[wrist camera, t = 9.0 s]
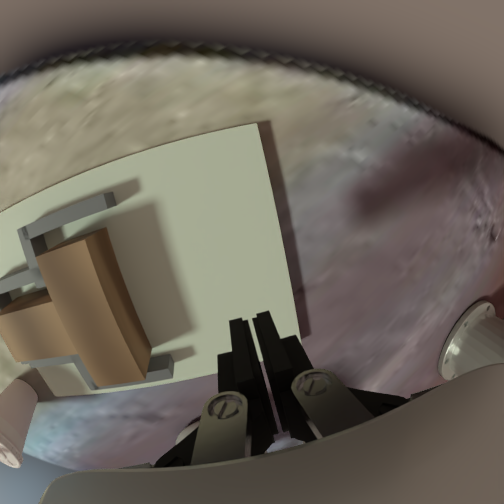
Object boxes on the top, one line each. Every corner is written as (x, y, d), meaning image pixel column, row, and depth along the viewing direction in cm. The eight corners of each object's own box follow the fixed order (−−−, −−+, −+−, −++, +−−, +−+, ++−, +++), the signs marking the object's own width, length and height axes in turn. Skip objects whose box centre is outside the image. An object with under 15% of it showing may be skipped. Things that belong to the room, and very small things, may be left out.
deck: (253, 126, 19) (262, 117, 16) (297, 341, 24) (310, 361, 21) (-16, 224, 16) (-37, 231, 13) (59, 389, 21) (49, 409, 18)
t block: (106, 226, 18) (84, 239, 14) (152, 348, 21) (145, 380, 17) (4, 264, 16) (-23, 280, 13) (51, 365, 19) (34, 391, 16)
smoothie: (3, 390, 20) (-40, 466, 7) (5, 359, 20) (-53, 442, 6) (44, 418, 22) (12, 504, 9) (50, 391, 21) (7, 489, 8)
